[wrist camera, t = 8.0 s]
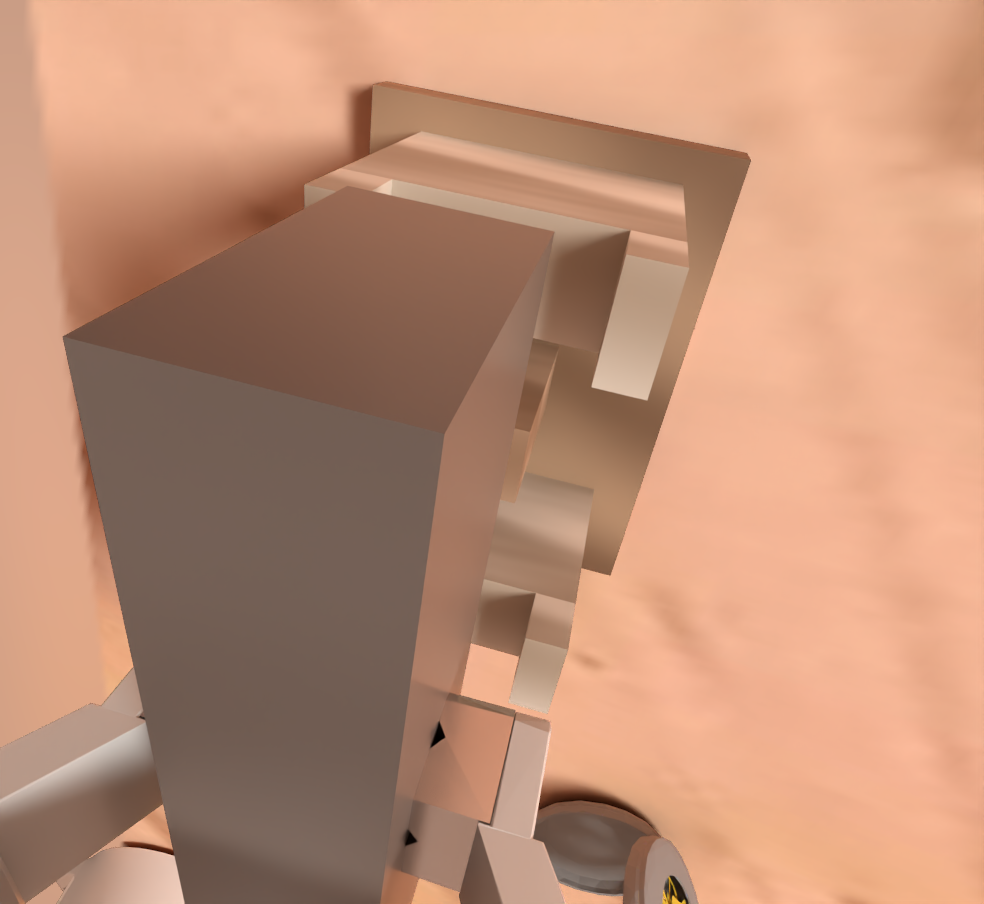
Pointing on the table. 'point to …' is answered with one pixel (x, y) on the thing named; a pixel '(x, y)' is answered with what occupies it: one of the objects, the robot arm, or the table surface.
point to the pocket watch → (612, 854)
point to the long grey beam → (307, 524)
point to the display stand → (566, 325)
